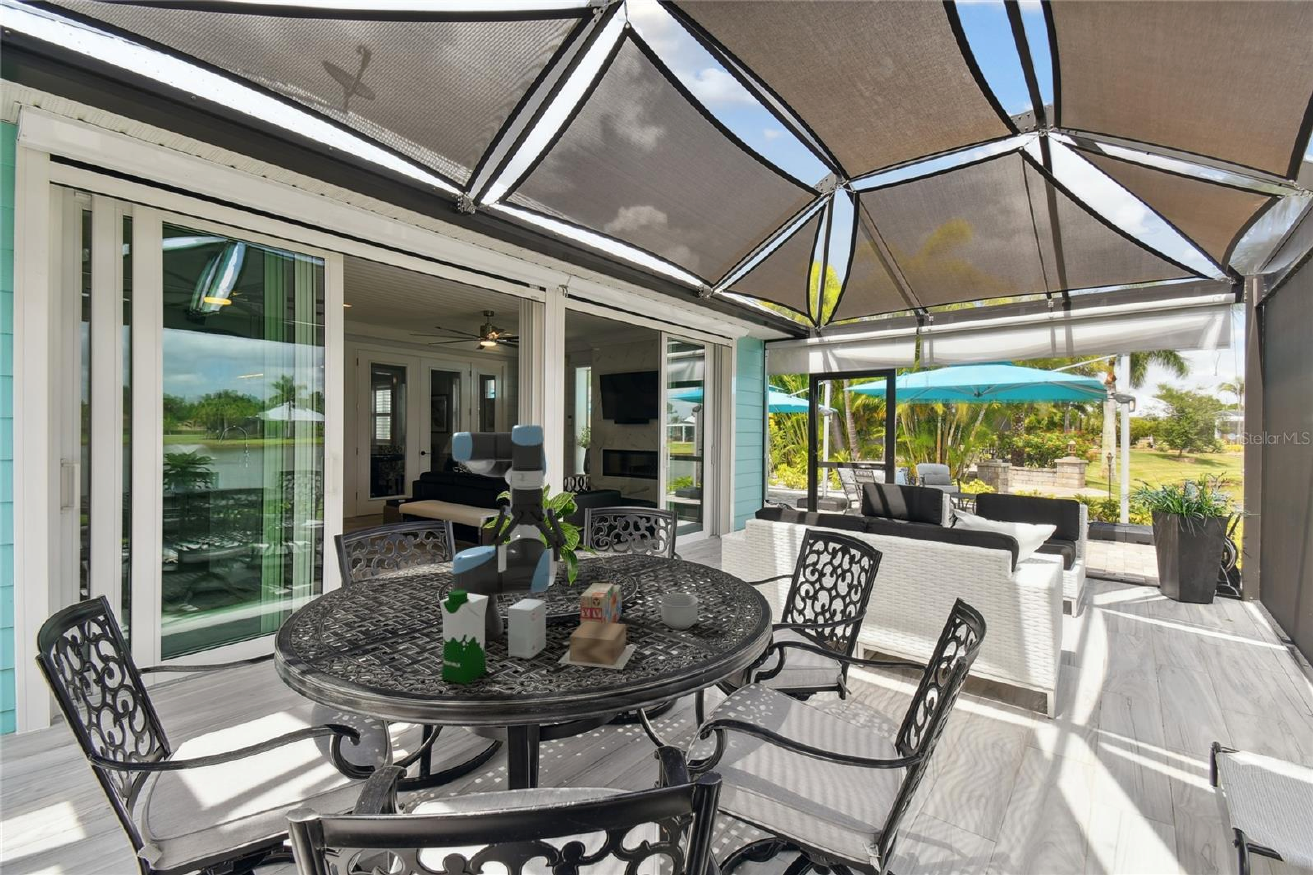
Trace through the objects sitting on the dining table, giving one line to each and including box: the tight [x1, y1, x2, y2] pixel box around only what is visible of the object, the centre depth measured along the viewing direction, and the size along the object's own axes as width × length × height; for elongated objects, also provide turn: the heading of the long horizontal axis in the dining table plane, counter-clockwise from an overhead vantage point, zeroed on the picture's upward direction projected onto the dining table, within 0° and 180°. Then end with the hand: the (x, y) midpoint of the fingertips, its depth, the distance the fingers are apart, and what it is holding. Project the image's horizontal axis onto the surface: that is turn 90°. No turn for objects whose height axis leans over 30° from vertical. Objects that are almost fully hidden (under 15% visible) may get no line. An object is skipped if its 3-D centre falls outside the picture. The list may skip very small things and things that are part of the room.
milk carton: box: [439, 589, 489, 685], centre depth 134 cm, size 9×9×20 cm
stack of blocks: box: [579, 582, 623, 626], centre depth 166 cm, size 21×6×12 cm, turn 169°
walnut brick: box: [569, 621, 627, 665], centre depth 144 cm, size 11×11×6 cm
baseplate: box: [557, 643, 638, 670], centre depth 144 cm, size 16×14×2 cm
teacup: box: [652, 592, 699, 631], centre depth 168 cm, size 14×11×8 cm
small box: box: [507, 598, 547, 659], centre depth 146 cm, size 8×6×13 cm
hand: (527, 572), depth 145 cm, fingers open, 13 cm apart
